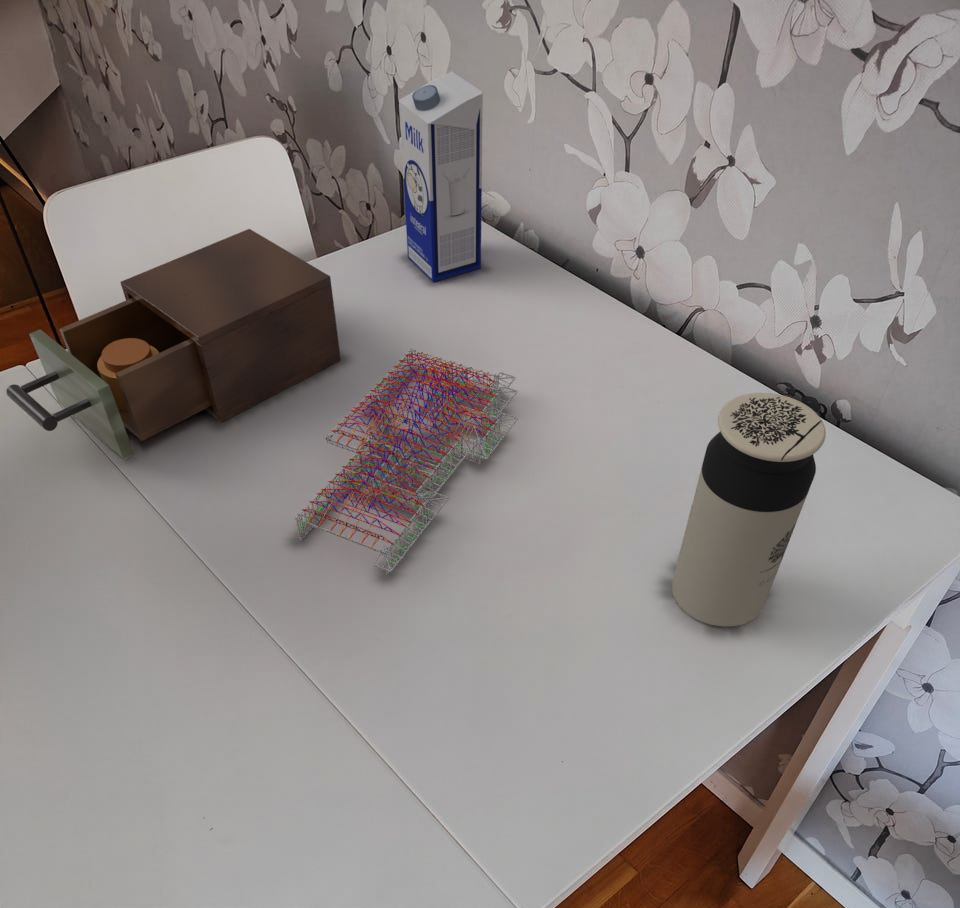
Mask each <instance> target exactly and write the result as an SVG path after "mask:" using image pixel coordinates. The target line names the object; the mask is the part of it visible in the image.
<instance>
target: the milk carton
mask: <svg viewBox="0 0 960 908" xmlns="http://www.w3.org/2000/svg"><path fill="white" fill-rule="evenodd" d="M483 95H484V92H483V91H482V90H480V89H479V88H477V87H476V86H474V85H472V84H471V83H470V82H468V81H467V80H466V79H465V78H463V77H461V76H460V75H458V74H457V73H455V72H454V71H449V72H448V73H445V74H443V75H441V76H439V77H435V78H434V79H432V80H431V81H429V82H427V83H426V84H423V85H422V86H421V87H419V88H417V89H415V90H414V91H412V92H410V93H409V94H407V95H406V96H404V97H402V98H400V99H399V100H398V103H399V105H398V107H399V122H400V138H401V139H400V140H401V158H402V159H401V160H402V176H403V195H404V196H403V197H404V210H405V212H404V213H405V230H406V231H405V232H406V246H407V247H406V249H407V258H408V260H410V261H411V262H412V263H413V264H414V265H415V266H416V267H417V268H418V269H419V270H420V271H421V272H422V273H423V274H424V275H425V276H426V277H427V278H428V279H429V280H430V281H431V282H432V283H437V282H440V281H442V280H446V279H449V278H453V277H457V276H460V275H463V274H467V273H470V272H473V271H477V270H481V269H482V204H483V203H482V199H483V197H482V196H483V194H482V193H483V192H482V191H483V188H482V187H483V104H484V103H483V102H484V101H483V98H484V96H483Z"/></svg>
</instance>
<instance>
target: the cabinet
mask: <svg viewBox="0 0 960 908" xmlns="http://www.w3.org/2000/svg"><path fill="white" fill-rule="evenodd" d="M119 283H120V286H121V289H122V292H123V296H124V299H125V301H126V300H129V299H131V298H135V299H136V300H138V301H139V302H140V303H142V304H143V305H145V306H146V307H147V308H149V309H150V310H152V311H153V312H154V313H156V314H157V315H159V316H160V317H161V318H163V319H164V320H166V321H167V322H168V323H170V324H171V325H173V326H174V327H175V328H177V329H178V330H180V331H181V332H182V333H184V334H185V335H187V336H188V337H189V338H191V339H192V340H194V341H195V342H196V346H197V350H198V353H199V357H200V361H201V365H202V368H203V372H204V376H205V380H206V383H207V387H208V391H209V395H210V398H211V402H212V406H210V407H208V408H206V409H204V410H203V411H205V412H206V413H208V414H209V415H210V416H211V417H213V418H214V419H215V420H216V421H218V422H219V423H224V422H225V421H228V420H229V419H231V418H232V417H235V416H237V415H238V414H241V413H242V412H244V411H246V410H248V409H250V408H252V407H254V406H256V405H258V404H260V403H262V402H264V401H265V400H267V399H270V398H271V397H274V396H275V395H277V394H279V393H281V392H282V391H285V390H287V389H288V388H290V387H292V386H294V385H296V384H298V383H301V382H302V381H304V380H306V379H307V378H309V377H311V376H314V375H316V374H317V373H319V372H322V371H323V370H325V369H326V368H329V367H330V366H332V365H334V364H336V363H338V362H340V361H341V350H340V343H339V335H338V327H337V326H338V325H337V318H336V311H335V301H334V295H333V287H332V279H331V275H329V274H327V273H325V272H324V271H323V270H320V269H319V268H317V267H316V266H314V265H312V264H310V263H308V262H307V261H306V260H304V259H302V258H300V257H298V256H297V255H295V254H293V253H291V252H290V251H288V250H286V249H285V248H283V247H281V246H280V245H278V244H277V243H275V242H273V241H272V240H269V239H268V238H266V237H264V236H262V235H261V234H260V233H257V232H256V231H254V230H253V229H251V228H247V229H245V230H243V231H242V230H241V231H240V232H238V233H235V234H233V235H230V236H228V237H226V238H223V239H221V240H218V241H216V242H214V243H211V244H208V245H206V246H204V247H201V248H198V249H196V250H194V251H192V252H189V253H187V254H185V255H182V256H179V257H177V258H174V259H173V260H170V261H167V262H164V263H163V264H160V265H158V266H155V267H153V268H151V269H148V270H146V271H143V272H141V273H139V274H136V275H133V276H131V277H128V278H126V279H124V280H121V281H120V282H119Z"/></svg>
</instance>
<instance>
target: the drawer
mask: <svg viewBox="0 0 960 908" xmlns="http://www.w3.org/2000/svg"><path fill="white" fill-rule="evenodd" d="M59 332H60V335H61V338H62V340H63V342H64V345H65V347H66V349H65V347H63V346H62V345H60V344H59V343H58V342H57V341H56V340H55V339H54V338H52V337H51V336H49V335H48V334H47V333H46V332H45V331H43V330H42V329H37V330H35V331H33V332H30V333H29V335H28V336H29V338H30V340H31V342H32V344H33V347H34V349H35V351H36V354H37V356H38V359H39V361H40V363H41V366H42V368H43V370H44V372H45V375H43V376H41V377H38V378H36V379H33V380H32V381H30V382H27V383H25V384H23V385H21V386H19V385H18V384H14V383H13V384H10V385H9V386H8V387H7V388H6V390H5V391H6V396H7V397H8V398H9V399H10V400H12V402H13V403H15V404H16V405H17V406H18V407H19V408H21V410H22V411H24V412H25V413H26V414H27V415H28V416H29V417H30V418H32V420H34V422H36V423H37V424H38V425H39V426H40V427H41V428H42V429H43V430H44V431H47V432H52V431H54V430H56V429H57V427H58V423H59V422H61V421H63V420H66V419H68V418H69V417H72V416H73V417H74V418H75V419H77V421H79V422H80V423H81V424H82V425H83V426H84V427H86V429H88V430H89V431H90V432H91V433H92V434H93V435H95V436H96V437H97V439H100V440H101V441H102V442H103V443H104V444H105V445H106V446H107V447H108V448H110V449H111V450H112V451H113V452H115V453H116V454H117V455H118V456H119V457H120V458H121V459H122V460H126V459H128V458H130V457H132V456H133V455H135V452H134V449H133V446H132V444H131V441H130V438H129V435H128V433H127V430H128V431H129V432H130V433H132V435H134V436H135V437H137V438H138V439H139V440H140V441H141V442H142V441H145V440H147V439H149V438H151V437H153V436H155V435H157V434H159V433H161V432H163V431H165V430H166V429H168V428H171V427H173V426H174V425H176V424H179V423H181V422H182V421H185V420H186V419H188V418H190V417H193V416H194V415H196V414H199V413H200V412H202V411H205V410H204V409H206V408H208V407H210V406H212V402H211V398H210V395H209V391H208V387H207V383H206V380H205V376H204V372H203V368H202V365H201V361H200V357H199V353H198V350H197V346H196V342H195V341H194V340H192V339H191V338H189V337H188V336H187V335H185V334H184V333H182V332H181V331H180V330H178V329H177V328H175V327H174V326H173V325H171V324H170V323H168V322H167V321H166V320H164V319H163V318H161V317H160V316H159V315H157V314H156V313H154V312H153V311H152V310H150V309H149V308H147V307H146V306H145V305H143V304H142V303H140V302H139V301H138V300H136V299H135V298H131V299H129V300H126V299H125V300H124V301H122V302H119V303H117V304H115V305H112V306H109V307H108V308H105V309H103V310H100V311H98V312H96V313H93V314H91V315H88V316H86V317H83V318H82V319H79V320H77V321H74V322H72V323H70V324H67V325H65V326H63V327H61V328H59ZM126 338H136V339H141V340H143V341H145V342H147V343H148V344H149V345H150V346H152V347H154V348H156V349H157V350H158V352H159V353H158V354H156V355H154V356H152V357H150V358H148V359H145V360H143V361H141V362H139V363H137V364H135V365H132V366H130V367H128V368H126V369H124V370H122V371H119V372H117V373H115V375H116V378H117V380H118V383H119V386H120V389H121V392H122V394H123V397H124V400H125V403H126V406H127V409H128V411H129V412H124V411H121V410H118V408H117V405H116V402H115V400H114V397H113V394H112V391H111V389H110V386H109V385H108V384H107V383H106V382H105V381H103V380H102V379H101V376H100V373H99V371H98V367H97V363H98V360H99V358H100V357H101V354H102V351H103V349H104V348H105V347H106V346H107V345H109V344H110V343H112V342H114V341H117V340H120V339H126ZM49 384H50V387H51V389H52V391H53V395H54V396H55V398H56V401H57V402H58V404H59V405H61V407H62V408H63V409H61V410H59V411H57V412H54V413H51V412H49V411H48V410H47V409H46V408H45V407H44V406H42V405H41V404H40V403H39V402H38V401H37V400H36V399H35V398H34V397H33V396H31V395H30V394H29V393H32V392H33V391H36V390H38V389H40V388H42V387H45V386H47V385H49ZM126 429H127V430H126Z"/></svg>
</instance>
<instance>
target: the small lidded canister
mask: <svg viewBox="0 0 960 908" xmlns="http://www.w3.org/2000/svg"><path fill="white" fill-rule="evenodd" d="M158 353H159V352H158V350H157V349H156V348H154V347H152V346H150V345H149V344H148V343H147V342H145V341H143V340H141V339H136V338H126V339H120V340H117V341H114V342H112V343H110V344H109V345H107V346H106V347H105V348H104V349H103V351H102V354H101V357H100V358H99V360H98V363H97V367H98V371H99V373H100V376H101V379H102V380H103V381H105V382H106V383H107V384H108V385H109V386H110V389H111V391H112V394H113V397H114V400H115V402H116V405H117V408H118V410H121V411H124V412H129V411H128V409H127V406H126V403H125V400H124V397H123V394H122V392H121V389H120V386H119V383H118V380H117V378H116V375H115V373H117V372H119V371H122V370H124V369H126V368H128V367H130V366H132V365H135V364H137V363H139V362H141V361H143V360H145V359H148V358H150V357H152V356H154V355H156V354H158Z"/></svg>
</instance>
